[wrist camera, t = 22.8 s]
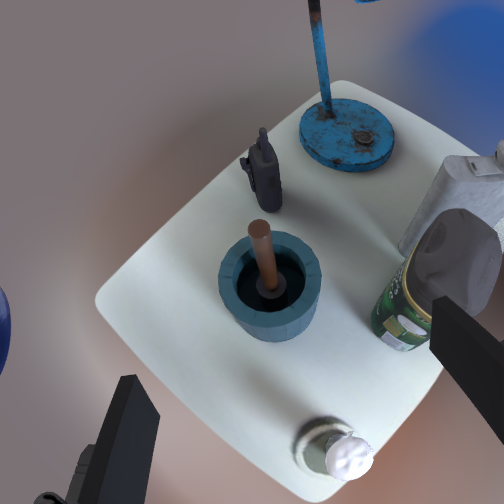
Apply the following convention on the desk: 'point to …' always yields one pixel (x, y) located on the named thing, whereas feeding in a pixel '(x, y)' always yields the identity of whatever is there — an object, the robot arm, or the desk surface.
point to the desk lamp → (342, 119)
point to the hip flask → (461, 193)
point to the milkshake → (347, 456)
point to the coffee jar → (439, 278)
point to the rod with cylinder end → (267, 268)
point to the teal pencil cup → (246, 295)
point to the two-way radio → (264, 173)
